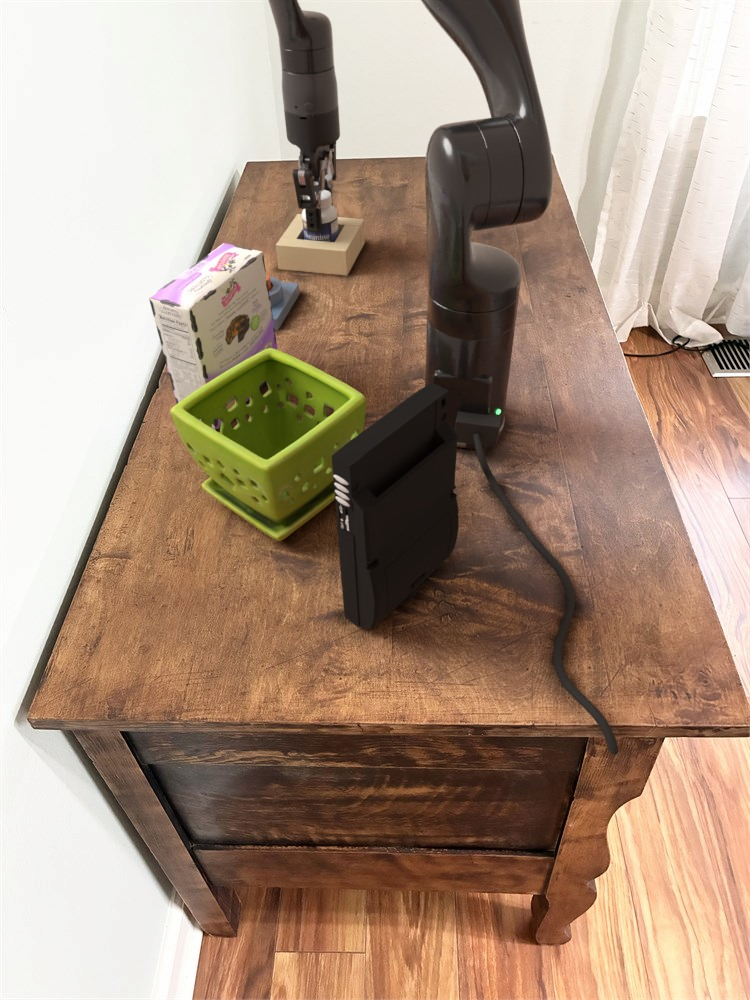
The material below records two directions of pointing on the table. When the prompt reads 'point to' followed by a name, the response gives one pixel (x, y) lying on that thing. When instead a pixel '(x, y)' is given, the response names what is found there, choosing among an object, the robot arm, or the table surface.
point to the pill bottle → (324, 221)
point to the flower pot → (270, 438)
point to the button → (268, 281)
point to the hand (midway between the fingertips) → (320, 222)
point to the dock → (321, 248)
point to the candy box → (214, 318)
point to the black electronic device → (395, 505)
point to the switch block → (282, 299)
